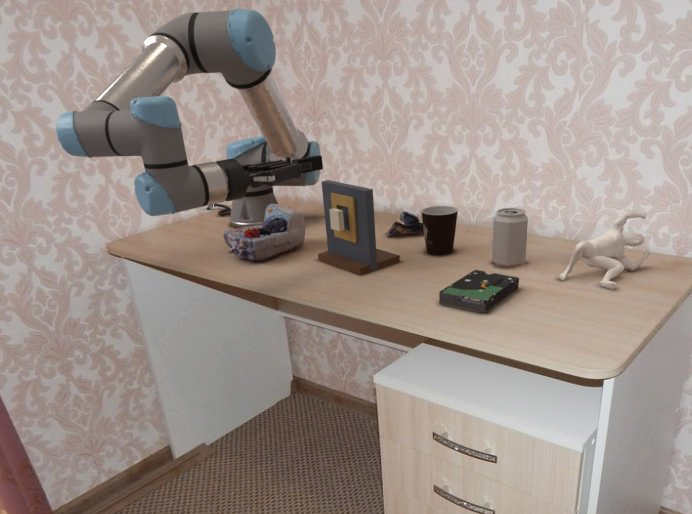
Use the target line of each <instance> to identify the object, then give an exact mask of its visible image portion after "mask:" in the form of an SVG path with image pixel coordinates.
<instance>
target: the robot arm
mask: <svg viewBox="0 0 692 514" xmlns="http://www.w3.org/2000/svg"><path fill="white" fill-rule="evenodd" d="M270 26H271V25H270V24H269V23H268V21H267V20H266V18H265V17H264V16H263V14H261V12H258V11H257V10H254V9H243V8H235V9H230V10H229V9H228V10H215V11H199V12H198V11H196V12H188V13H184V14H181V15H179V16H177V17H174V18H172V19H171V20H169V21H168V22H166V23H164V24H163V25H161V26H160V27H158V28H157V29H156V30H155V31H153V33H152V34H150V35H149V36H148V37H147V38H146V39H145V40H144V42H143V43H142V47H141V52H140V53H139V54H138V55H137V57H135V58H134V59H133V60H132V62H131V63H129V64H128V65H127V66H126V67H125V68H124V70H123V71H122V72H120V74H119V75H117V77H116V78H114V79H113V81H111V83H110V84H108V86H107V87H106V88H104V90H103V91H102V92H101V93H99V95H97V97H96V98H95V99H94V100H92V102H91V103H89V105H87V107H85V108H84V110H81V111H78V110H72V111H69V112H63V113H62V114H60V115H59V116H58V118H57V121H56V125H55V133H56V138H57V140H58V142H59V143H60V146H61V148H62V149H63V150H64V151H65V152H66V153H67V154H69V155H70V156H73V157H80V158H88V159H92V158H104V157H105V158H106V157H108V158H109V157H141V159H142V163H143V167H144V171H143V172H142V173H141V174H137V175H136V176H135V177H134V181H133V182H134V183H133V185H134V194H135V197H136V200H137V202H138V205H139V206H140V208H141V209H142V211H143V212H144V213H145V214H147V215H149V216H150V217H158V216H164V215H175V214H178V213H181V212H185V211H190V210H193V209H198V208H202V207H206V210H207V211H208V210H211V209H212V208H216V207H217V208H222V209H221V210H218V212H217V215H218V216H230V217H229V221H230V226H231V227H233V228H235V229H237V228H242V227H249V226H257V225H262V224H263V223H264V220H265V211H266V208H267V206H268V205H270V204H279V203H278V201H277V198H276V195H275V191H274V187H304V188H305V187H311V186H315V185H317V183H318V182H319V179H320V175H321V170H324V165H323V164H324V163H323V156H322V152H321V147H320V143H319V142H317V141H314V140H311V141H309V139H308V137H307V136H306V134H305V133H304V132H303V131H301V130H300V129H297V126H296V124H295V122H294V120H293V119H292V116H291V114H290V111H289V110H288V108H287V107H288V106H287V105H286V103H285V101H284V98H283V96H282V93H281V91H280V90H279V87H278V85H277V82H276V80H275V78H274V76H273V74H272V71H273V67H274V66H275V62H276V57H277V50H276V43H275V41H274V34H273V31H272V28H271V27H270ZM195 74H221V75H222V77H223V78H224V80H225V83H226V84H227V85H228V86H230V87H231V88H232V89H235V90H237V91H238V92H239V94H240V96H241V99H242V100H243V101H244V103H245V105H246V107H247V109H248V111H249V113H250V115H251V117H252V119H253V120H254V123H255V124H256V126H257V128H258V130H259V131H260V134H261V135H262V136H254V137H249V138H245V139H244V138H243V139H240V140H236V141H233V142H230V143H229V144H227V146H226V148H225V155H226V159H221V160H220V159H219V160H216V161H207V162H201V163H196V164H192V165H189V161H188V156H187V151H186V144H185V139H184V135H183V130H182V126H183V125H182V121H181V119H180V115H179V112H178V108H177V103H176V101H175V100H174V99H173V98H172V97H170V96H166V95H162V94H164V93H165V91H166V90H167V89H168V88H169V87H170V86H171V85H172V84H175V83H178V82H180V81H182V80H183V79H184V78H185V77H187V76H189V75H195ZM224 202H232V203H231V208H230V206H229V205H226V204H222V203H224ZM213 204H214V207H213Z"/></svg>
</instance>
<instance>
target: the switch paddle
mask: <svg viewBox="0 0 692 514" xmlns="http://www.w3.org/2000/svg"><path fill="white" fill-rule="evenodd" d="M329 211H330V222H331V229H334V230H337V231H342V230H344V218H343V210H339V209H335V208H333V209H329Z"/></svg>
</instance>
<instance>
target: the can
mask: <svg viewBox="0 0 692 514" xmlns="http://www.w3.org/2000/svg"><path fill="white" fill-rule="evenodd" d="M528 223H529V218H528V216H527V214H526V210H525V209H524V208H520V207H503V208H499V209H497V210H496V214H495V216H493V219H492V249H491V250H492V251H491V261H492V262H493V263H494V264H495V265H496V266H498V267H502V268H516V267H519V266H521V265H522V264H523V263H524V262H525V261H526V259H527V257H526V256H527V244H528V243H527V242H528V226H529V224H528Z"/></svg>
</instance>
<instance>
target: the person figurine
mask: <svg viewBox="0 0 692 514" xmlns="http://www.w3.org/2000/svg"><path fill="white" fill-rule="evenodd" d="M647 215H648V213H646V211H644V212H636V211H631V210H626V211H623V212H622V213H621V215H620V216H619V217H618V218H616V220H614V222H613V223H612V227H611V228H610V229H609V230H608V231H607V232H605V233H603V234H601V235H599V236H597V237H594V238H591V239H590V240H582V241H579V243H577V244H576V245H575V247H574V250H573V251H572V252H571V257H570V262H569V264H568V265H567V267H566V268H565V270H564V271H563V272H562V273H560V274H559V279H560V280H561V281H565V280H566V279H567V278H568V276H569V274H571V273H572V271H573V269H574V266H576V264H577V263H578V262H579V261H581V260H582V259H583V262H584V264H585V265H586V266H588V267H589V268H596V269H600V270H604V271H606V273H605V274H604V276H603V278H602V279H601V281H599V282H598V285H599V286H600V287H603V288H605V289H608V290H609V289H610V290H615V288H617V286H618V283H617V282H615V281H611V280H613V279H615V278H616V277H618V275H619V274H621V273H622V272H623V271H624V270H625V269H627V270H629V271H630V272H633V271H634V270H636V269H638V268H639V267H641V264H642V263H643V262H644V261H645V260H646V259H647V258H648V257H649V256H651V255H652V252H651V251H650V250H648V249H646V250H644V252H643V255H642V256H641V258H639V259H637V260H636V261H634V262H632V261H631V259H629V258H627V254H626V252H625V247H627V246H628V247H631V248H633V247H639V246H642V245H644V243H645V237H644V236H643V235H642V234H641V233H631V235H629V236H625V235H624V234H623V233H624V226H625V225H626V223H627V222H628V220H630V219H639V218H641V219H643V220H645V219H646V218H647Z"/></svg>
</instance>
